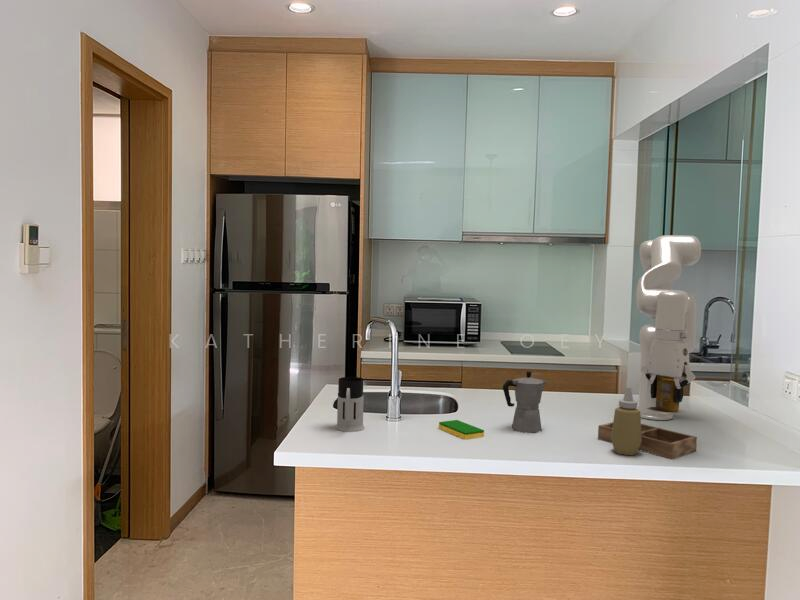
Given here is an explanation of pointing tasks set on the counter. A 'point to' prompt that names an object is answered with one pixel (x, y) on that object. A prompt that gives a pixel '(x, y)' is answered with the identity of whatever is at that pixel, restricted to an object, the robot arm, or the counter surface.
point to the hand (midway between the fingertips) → (666, 399)
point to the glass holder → (350, 404)
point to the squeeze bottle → (626, 426)
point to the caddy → (657, 440)
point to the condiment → (665, 396)
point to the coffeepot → (526, 402)
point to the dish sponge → (461, 429)
